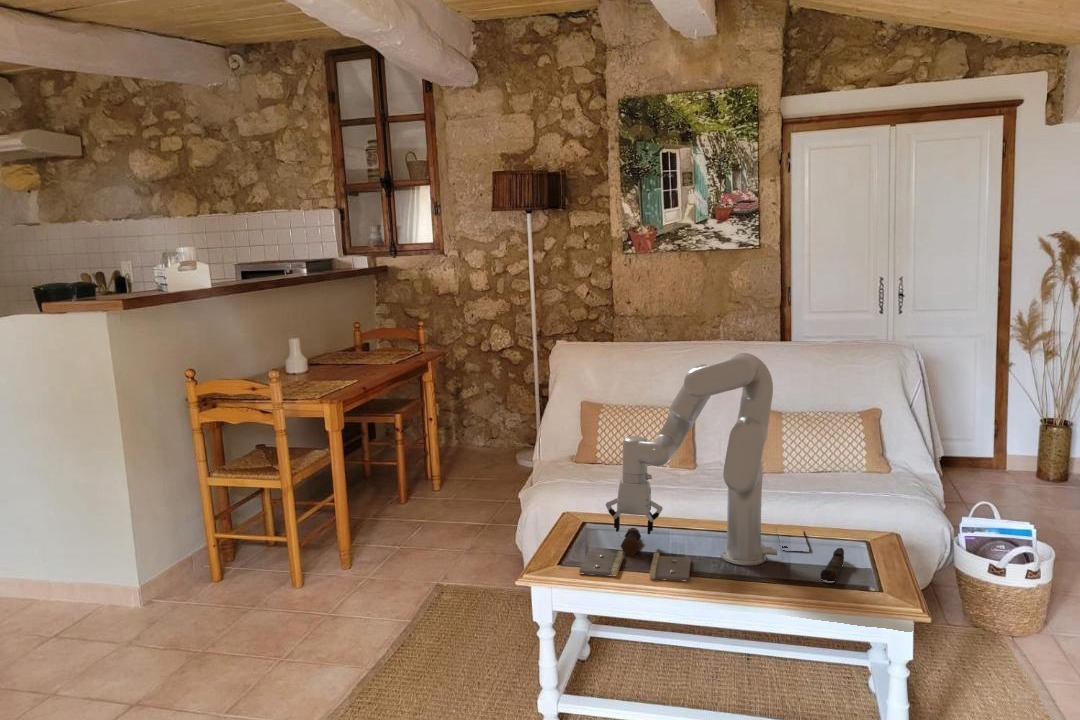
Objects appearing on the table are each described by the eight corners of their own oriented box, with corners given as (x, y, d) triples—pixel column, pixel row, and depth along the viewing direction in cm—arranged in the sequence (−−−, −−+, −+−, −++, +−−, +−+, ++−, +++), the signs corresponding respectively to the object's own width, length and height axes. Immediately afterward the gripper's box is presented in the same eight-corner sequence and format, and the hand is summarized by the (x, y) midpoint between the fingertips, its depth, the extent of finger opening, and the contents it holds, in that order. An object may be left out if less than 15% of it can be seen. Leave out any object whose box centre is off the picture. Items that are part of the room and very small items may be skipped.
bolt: (636, 543, 251) (632, 559, 237) (622, 535, 252) (618, 550, 237) (645, 528, 250) (642, 543, 236) (631, 520, 251) (627, 534, 236)
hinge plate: (690, 561, 230) (690, 555, 230) (688, 581, 215) (688, 574, 215) (588, 555, 237) (588, 548, 236) (579, 574, 222) (579, 567, 222)
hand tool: (835, 585, 211) (835, 569, 211) (820, 582, 214) (820, 566, 213) (851, 563, 227) (852, 547, 227) (837, 560, 229) (837, 545, 229)
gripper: (664, 476, 243) (662, 529, 245) (608, 472, 247) (607, 525, 249) (662, 482, 236) (660, 538, 238) (604, 478, 240) (603, 533, 242)
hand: (633, 531), depth 244 cm, fingers open, 9 cm apart
